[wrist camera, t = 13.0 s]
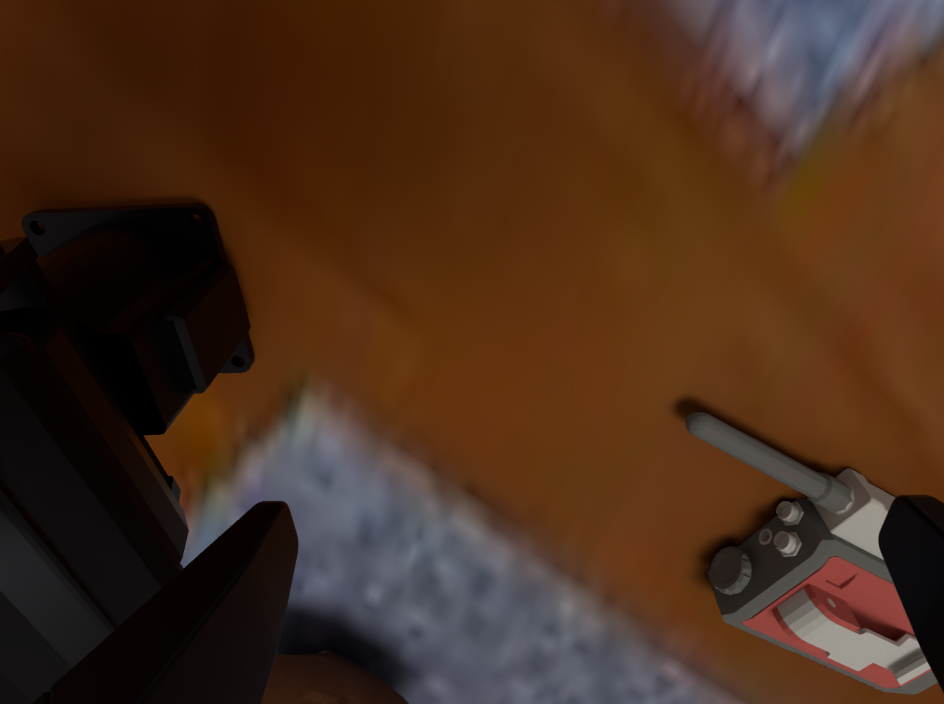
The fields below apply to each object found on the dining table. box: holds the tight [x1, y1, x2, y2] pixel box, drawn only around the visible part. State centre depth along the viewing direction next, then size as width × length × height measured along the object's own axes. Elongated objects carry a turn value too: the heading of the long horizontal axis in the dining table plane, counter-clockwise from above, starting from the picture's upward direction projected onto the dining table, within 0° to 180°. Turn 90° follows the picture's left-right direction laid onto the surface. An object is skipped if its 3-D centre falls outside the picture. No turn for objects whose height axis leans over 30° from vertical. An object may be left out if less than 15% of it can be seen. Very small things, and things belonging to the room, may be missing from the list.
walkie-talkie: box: [686, 412, 938, 695], centre depth 26 cm, size 9×4×20 cm
